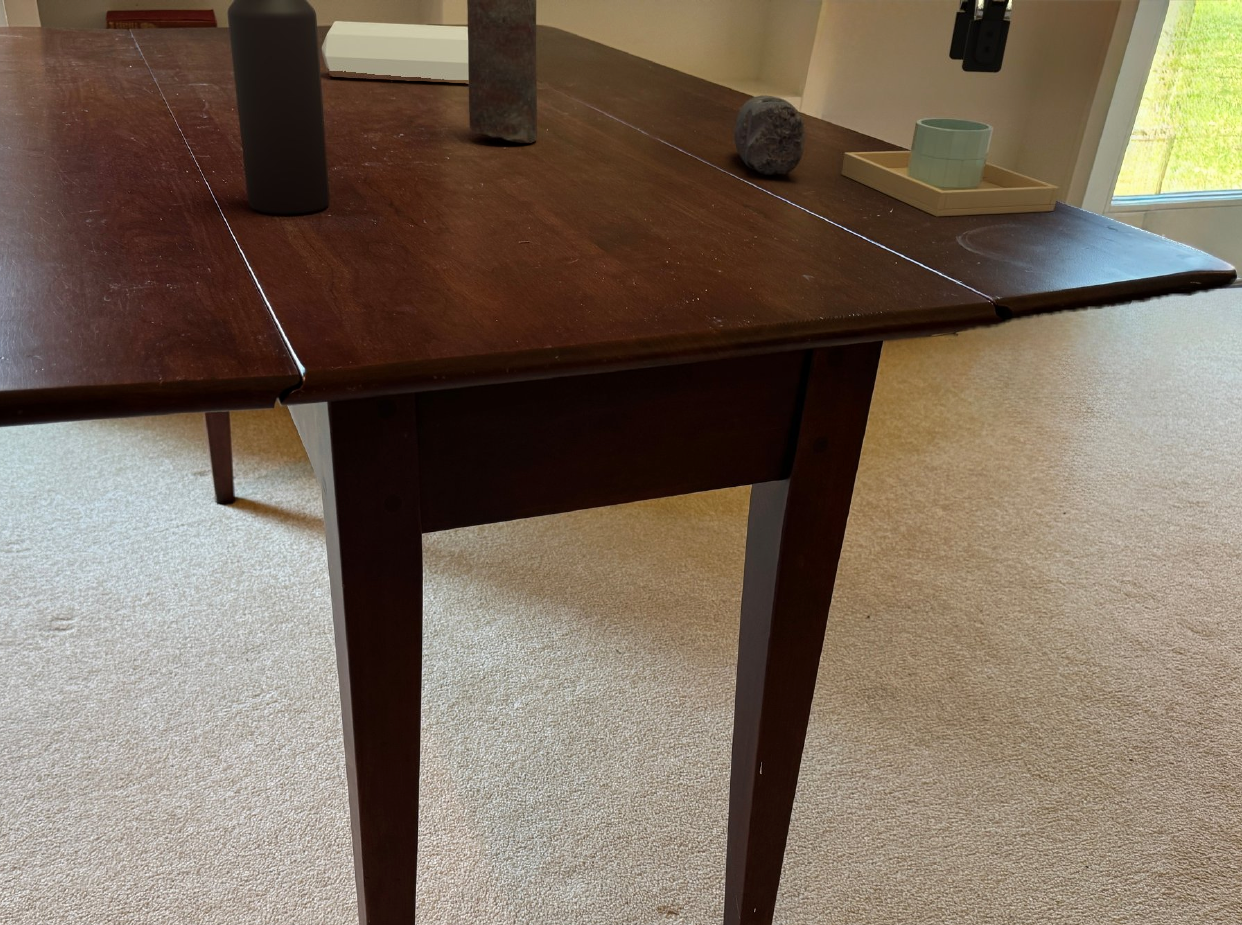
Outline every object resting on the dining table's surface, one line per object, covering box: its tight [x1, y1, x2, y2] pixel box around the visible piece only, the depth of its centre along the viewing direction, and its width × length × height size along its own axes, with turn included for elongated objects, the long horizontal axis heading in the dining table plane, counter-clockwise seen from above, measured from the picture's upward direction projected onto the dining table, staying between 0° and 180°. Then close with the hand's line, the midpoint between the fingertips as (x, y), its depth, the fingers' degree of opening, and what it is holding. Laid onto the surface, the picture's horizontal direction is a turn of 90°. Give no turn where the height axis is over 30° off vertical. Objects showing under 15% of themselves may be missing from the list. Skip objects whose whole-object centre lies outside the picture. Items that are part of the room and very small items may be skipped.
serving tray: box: [841, 150, 1060, 218], centre depth 106 cm, size 12×17×2 cm
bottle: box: [227, 0, 331, 216], centre depth 89 cm, size 7×7×20 cm
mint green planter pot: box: [906, 117, 994, 191], centre depth 105 cm, size 7×7×6 cm
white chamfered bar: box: [321, 20, 469, 80], centre depth 158 cm, size 7×7×24 cm
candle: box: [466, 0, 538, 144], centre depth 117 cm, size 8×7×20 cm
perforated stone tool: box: [733, 94, 806, 176], centre depth 112 cm, size 15×5×7 cm, turn 3°
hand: (973, 65), depth 100 cm, fingers open, 9 cm apart
